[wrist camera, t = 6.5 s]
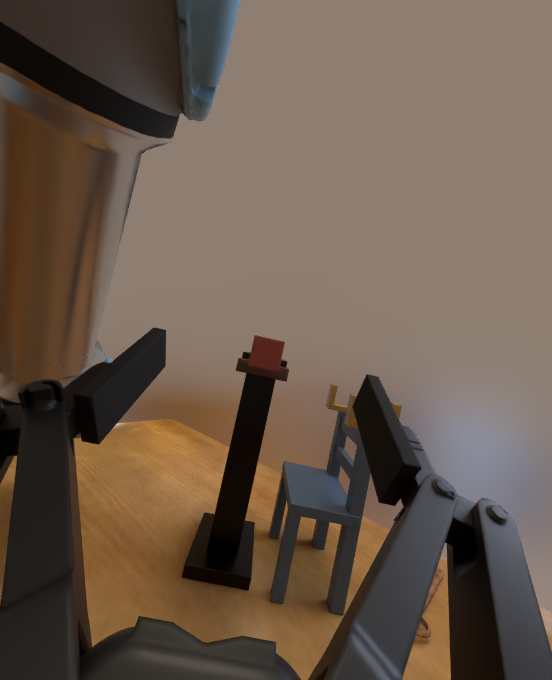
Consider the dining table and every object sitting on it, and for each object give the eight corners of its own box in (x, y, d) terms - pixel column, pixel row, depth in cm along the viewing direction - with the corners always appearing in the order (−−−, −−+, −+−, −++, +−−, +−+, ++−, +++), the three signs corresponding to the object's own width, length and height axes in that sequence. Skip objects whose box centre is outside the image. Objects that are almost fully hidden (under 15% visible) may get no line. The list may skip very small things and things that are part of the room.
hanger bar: (283, 373, 20) (292, 332, 20) (242, 364, 20) (252, 323, 20) (273, 362, 44) (277, 343, 44) (255, 358, 44) (259, 339, 44)
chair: (362, 620, 30) (402, 406, 31) (270, 602, 30) (315, 387, 31) (334, 544, 42) (364, 391, 43) (268, 530, 42) (301, 377, 43)
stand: (247, 607, 29) (299, 364, 30) (175, 593, 28) (231, 349, 30) (253, 523, 43) (288, 360, 44) (205, 514, 42) (242, 350, 44)
